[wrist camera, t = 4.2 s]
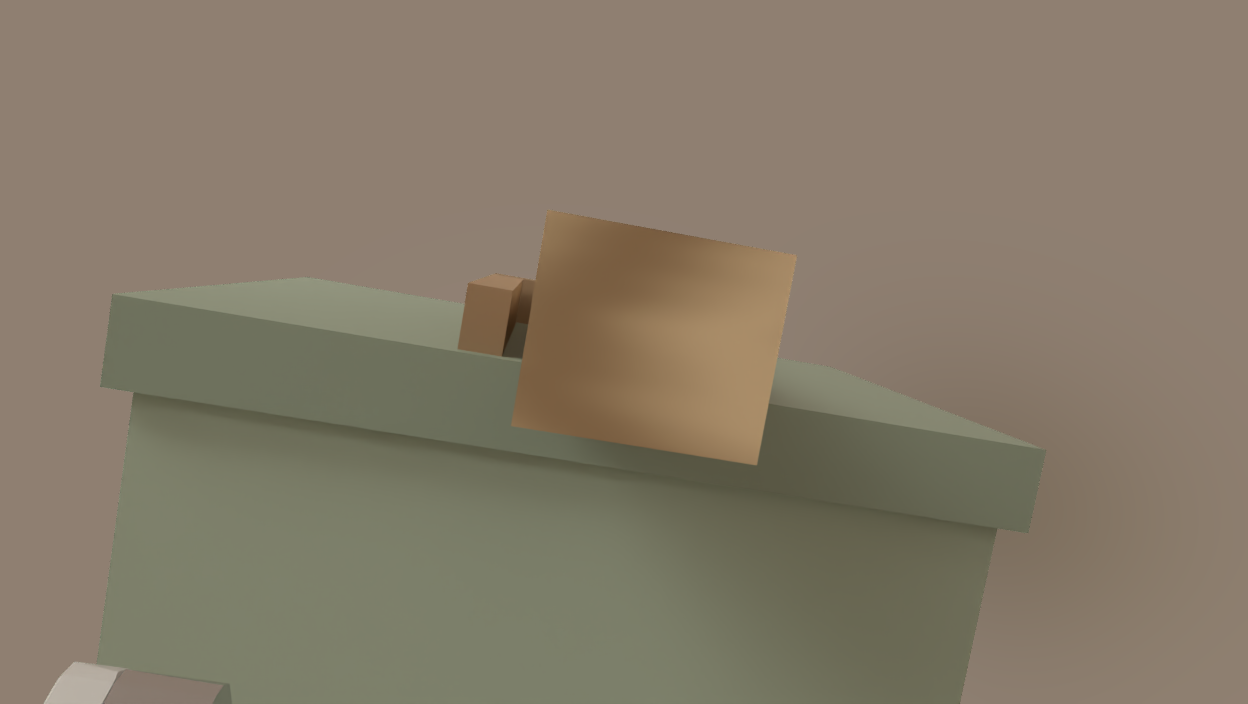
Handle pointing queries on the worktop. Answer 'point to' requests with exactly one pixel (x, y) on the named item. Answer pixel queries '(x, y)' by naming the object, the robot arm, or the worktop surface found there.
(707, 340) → the tan bar
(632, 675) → the toolbox
